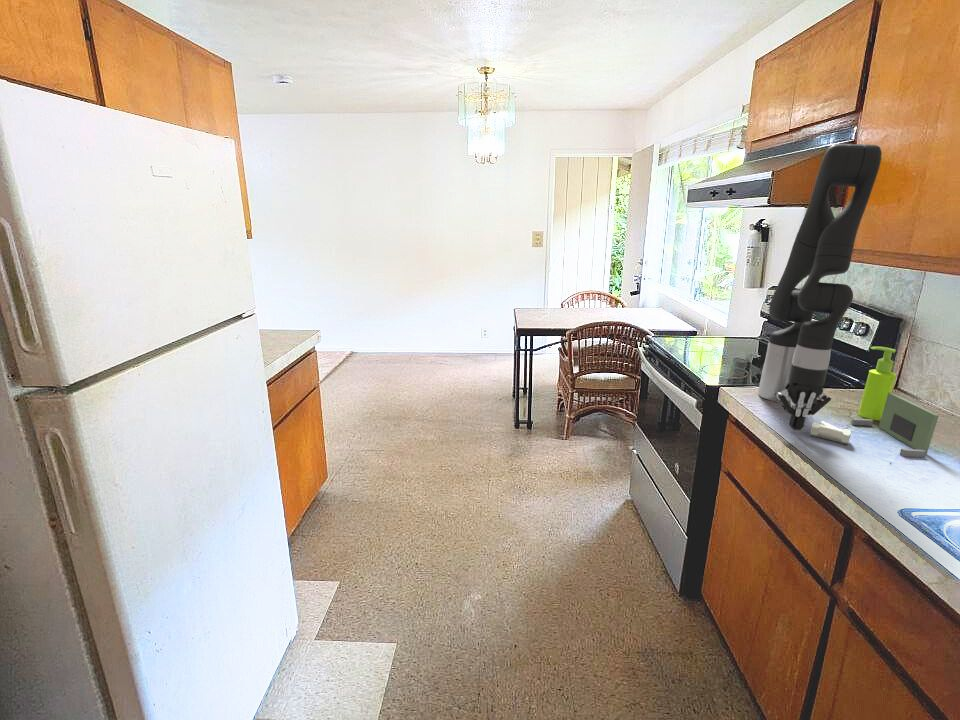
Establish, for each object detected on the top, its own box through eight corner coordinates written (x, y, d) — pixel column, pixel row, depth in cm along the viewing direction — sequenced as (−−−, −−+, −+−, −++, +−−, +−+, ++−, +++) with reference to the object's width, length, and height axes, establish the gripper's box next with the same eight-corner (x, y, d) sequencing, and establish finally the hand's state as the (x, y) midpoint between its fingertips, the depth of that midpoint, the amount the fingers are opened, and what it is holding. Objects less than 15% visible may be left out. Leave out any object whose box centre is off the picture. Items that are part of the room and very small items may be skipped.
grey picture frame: (850, 423, 135) (859, 389, 132) (877, 424, 134) (887, 390, 131) (902, 456, 117) (913, 417, 114) (933, 457, 116) (945, 418, 114)
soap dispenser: (855, 409, 145) (873, 343, 139) (885, 416, 140) (904, 348, 134) (851, 414, 141) (869, 347, 135) (882, 422, 136) (901, 352, 130)
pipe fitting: (812, 431, 131) (809, 437, 126) (816, 417, 130) (812, 422, 125) (849, 440, 126) (847, 447, 121) (853, 425, 125) (851, 432, 120)
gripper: (828, 361, 125) (813, 424, 130) (774, 358, 125) (761, 421, 130) (847, 369, 117) (831, 436, 122) (790, 367, 118) (776, 433, 123)
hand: (795, 428), depth 126 cm, fingers closed
